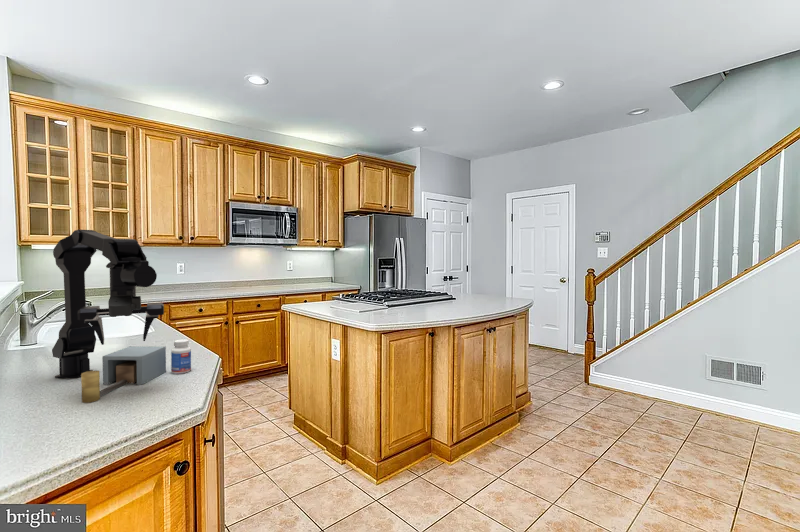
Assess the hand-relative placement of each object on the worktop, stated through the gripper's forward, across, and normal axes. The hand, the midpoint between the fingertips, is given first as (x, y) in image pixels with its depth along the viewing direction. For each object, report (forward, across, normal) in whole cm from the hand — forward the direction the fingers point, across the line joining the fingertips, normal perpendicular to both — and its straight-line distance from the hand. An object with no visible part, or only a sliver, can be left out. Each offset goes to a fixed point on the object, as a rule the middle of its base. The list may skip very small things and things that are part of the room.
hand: (124, 342), depth 106 cm
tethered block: (+13, -3, +2) cm, 13 cm away
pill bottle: (+13, +14, +10) cm, 22 cm away
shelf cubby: (+13, +2, +9) cm, 16 cm away
